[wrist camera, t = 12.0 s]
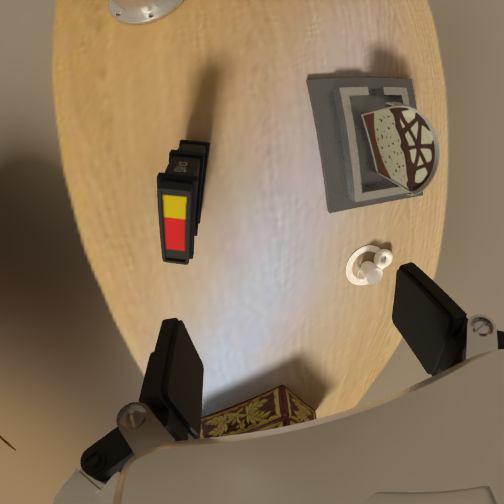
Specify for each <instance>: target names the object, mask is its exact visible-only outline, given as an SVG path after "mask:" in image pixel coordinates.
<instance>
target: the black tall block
mask: <svg viewBox="0 0 504 504" xmlns="http://www.w3.org/2000/svg"><path fill="white" fill-rule="evenodd" d="M209 146H210V143H208V142H199V141H189V140H180V145H179V148H178V150H171V151H170V153H169V164H168V166H167V169H166V171H165V173H159V174H158V176H157V197H158V213H159V227H160V239H161V249H162V259H163V261H164V262H169V263H177V264H185V265H187V264H188V263H189V259H193V254H194V236H197V231H198V224H199V223H200V218H201V209H202V200H203V191H204V183H205V175H206V168H207V160H208V153H209Z"/></svg>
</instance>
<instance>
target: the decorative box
mask: <svg viewBox="0 0 504 504" xmlns="http://www.w3.org/2000/svg"><path fill="white" fill-rule="evenodd" d="M315 419H316V413H315V411H314V410H313V409H312V408H311V407H309V406H308V405H307V404H306V403H304V402H303V401H302V400H301V399H299V398H298V397H297V396H296V395H295V394H293V393H292V392H291V391H290V390H289V389H287V388H286V387H285V386H284V385H281V386H279V387H277V388H275V389H272V390H270V391H268V392H266V393H263V394H261V395H259V396H256V397H254V398H252V399H249V400H247V401H245V402H242V403H240V404H237V405H235V406H232V407H229V408H227V409H224V410H222V411H219V412H216V413H213V414H211V415H208V416H205V417H202V418H201V433H200V434H199V435H197V439H202V438H212V437H222V436H230V435H237V434H244V433H251V432H257V431H263V430H269V429H275V428H280V427H285V426H289V425H294V424H298V423H303V422H307V421H311V420H315Z"/></svg>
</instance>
